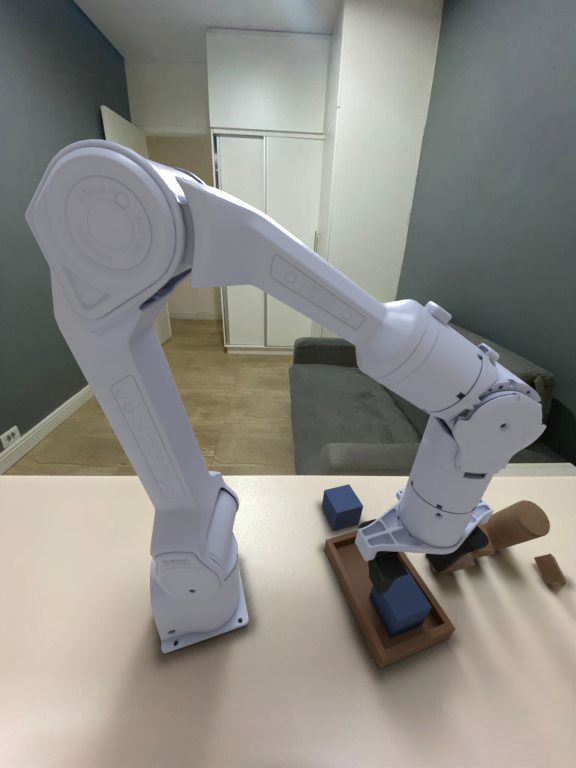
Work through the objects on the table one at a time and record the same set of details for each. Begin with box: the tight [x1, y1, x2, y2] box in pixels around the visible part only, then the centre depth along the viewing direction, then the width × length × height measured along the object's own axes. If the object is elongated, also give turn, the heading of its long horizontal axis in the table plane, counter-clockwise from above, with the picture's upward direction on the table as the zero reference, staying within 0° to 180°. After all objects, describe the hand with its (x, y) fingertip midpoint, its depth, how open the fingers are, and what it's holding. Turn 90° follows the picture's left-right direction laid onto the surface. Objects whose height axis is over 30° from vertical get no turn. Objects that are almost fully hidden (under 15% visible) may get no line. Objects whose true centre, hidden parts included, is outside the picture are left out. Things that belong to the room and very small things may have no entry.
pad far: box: [321, 484, 364, 531], centre depth 48 cm, size 4×4×4 cm
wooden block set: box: [429, 499, 567, 584], centre depth 41 cm, size 18×9×10 cm, turn 93°
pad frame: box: [323, 529, 456, 670], centre depth 39 cm, size 10×14×2 cm
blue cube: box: [369, 568, 432, 638], centre depth 36 cm, size 4×4×4 cm
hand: (406, 574), depth 34 cm, fingers open, 7 cm apart
